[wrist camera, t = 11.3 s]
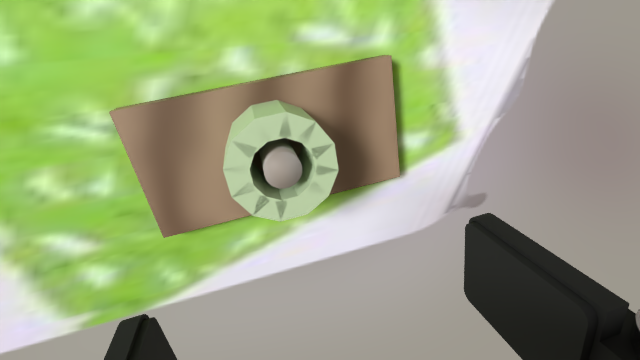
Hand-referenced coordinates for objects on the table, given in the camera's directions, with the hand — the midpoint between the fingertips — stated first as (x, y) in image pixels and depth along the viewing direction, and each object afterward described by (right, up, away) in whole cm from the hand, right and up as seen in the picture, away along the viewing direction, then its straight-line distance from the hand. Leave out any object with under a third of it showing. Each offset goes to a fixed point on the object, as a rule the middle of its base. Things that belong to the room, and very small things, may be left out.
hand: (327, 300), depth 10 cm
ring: (-4, +6, +15) cm, 17 cm away
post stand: (-4, +6, +17) cm, 18 cm away
